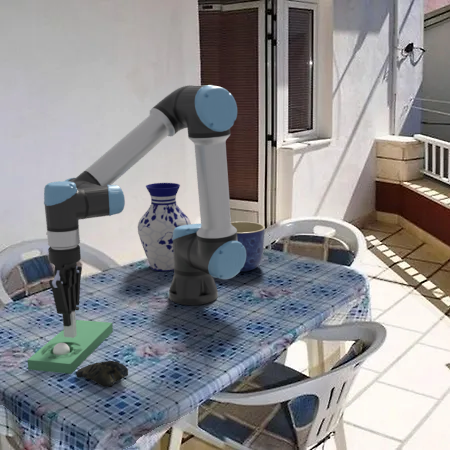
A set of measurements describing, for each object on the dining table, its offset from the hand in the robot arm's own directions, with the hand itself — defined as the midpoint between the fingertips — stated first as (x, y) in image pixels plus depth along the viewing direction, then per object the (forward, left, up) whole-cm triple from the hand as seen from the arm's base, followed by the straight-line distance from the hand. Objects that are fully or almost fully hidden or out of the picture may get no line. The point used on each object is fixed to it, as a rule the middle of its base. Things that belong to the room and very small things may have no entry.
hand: (70, 336), depth 155 cm
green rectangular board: (0, -1, -4) cm, 4 cm away
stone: (-14, +13, -4) cm, 20 cm away
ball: (0, +5, -2) cm, 6 cm away
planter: (-29, -75, -4) cm, 81 cm away
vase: (-2, -71, -4) cm, 71 cm away
